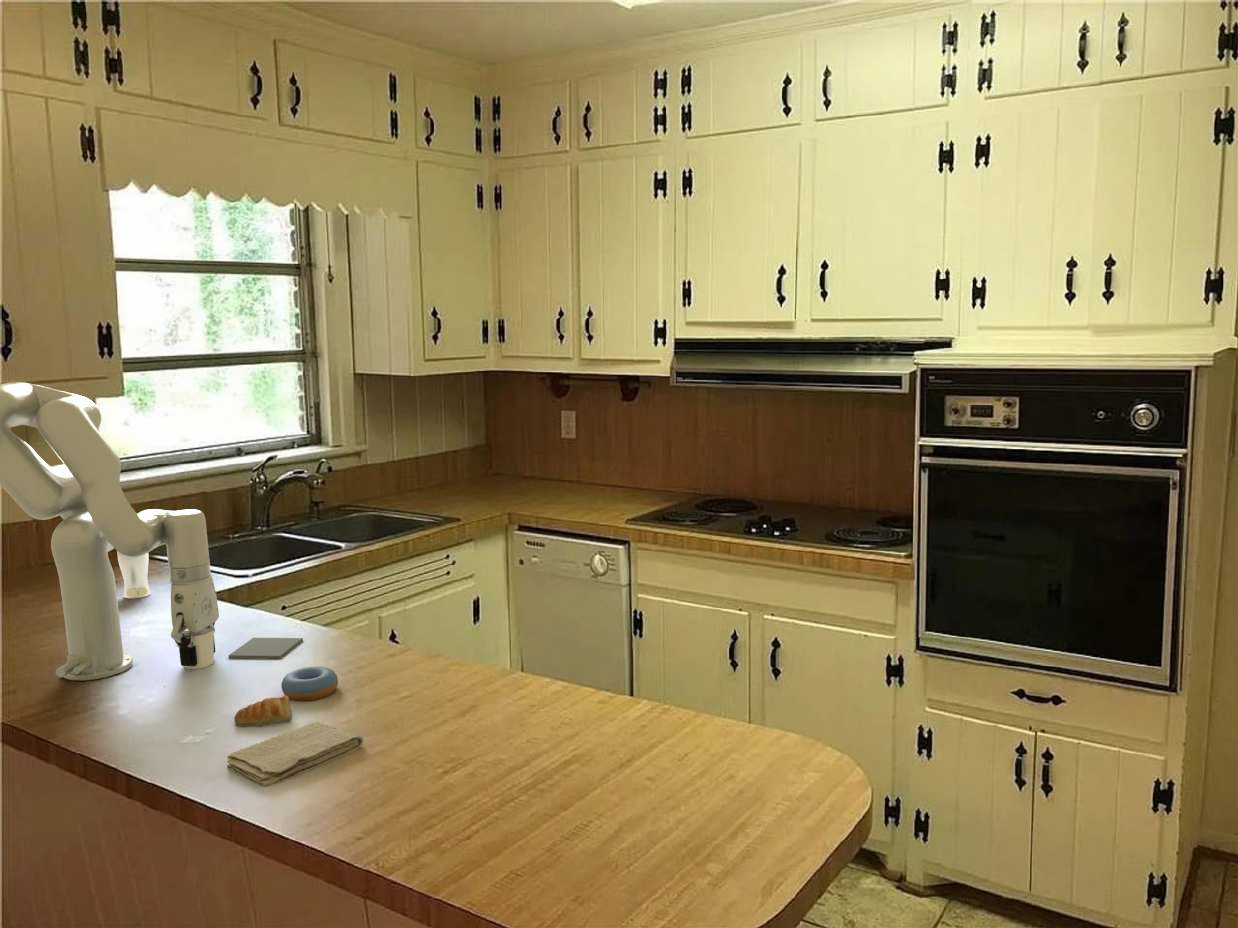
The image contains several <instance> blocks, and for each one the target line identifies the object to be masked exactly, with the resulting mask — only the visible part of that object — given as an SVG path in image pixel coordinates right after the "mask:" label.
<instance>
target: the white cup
mask: <svg viewBox="0 0 1238 928" xmlns="http://www.w3.org/2000/svg"><path fill="white" fill-rule="evenodd" d="M214 628H215V627H214ZM214 628H213V627H211V626H208V627H206V628H205V629H203V630H201V631H200V632H198V633H195V635H194V644H193V646H196V654H197V665H196V666H183V668H184V669H187V670H197V669H204V668H207V667H209V665H210V666H212V665H213V664H214V663H215V662H214V661H215V659H214V658H215V657H214V656H215V653H214V641H215V632H214ZM184 631H189V630H188V629H187V628H186V629H184ZM184 637H186V638H187V639H188V638H189V634H184ZM211 664H212V665H211ZM203 667H204V668H203Z"/></svg>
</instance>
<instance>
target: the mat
mask: <svg viewBox="0 0 1238 928" xmlns="http://www.w3.org/2000/svg"><path fill="white" fill-rule="evenodd" d="M303 641H304V638H303V637H252V638H251V639H249V640H248V641H247V642H245V643H244V644H242V645H241V646H240V647H238V648H236V649H235V650H234V651H232V652H231V653H230V654H228V659H255V658H273V659H274V658H276V659H274V660H279V659H282V658H283V657H284V656H286V655H287V654H289V652H290V650H291V651H292V650H293V649H294V648H296V647H297V646H299V645H300V644H301V643H302V642H303ZM285 654H286V655H285ZM273 659H272V660H273Z"/></svg>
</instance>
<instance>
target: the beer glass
mask: <svg viewBox="0 0 1238 928" xmlns="http://www.w3.org/2000/svg"><path fill="white" fill-rule="evenodd" d="M116 553H117V560H118V561H117V562H118V565H119V568H120V572H121V575H122V578H123V583H124V589H123V590H124V591H123V597H124V598H125V599H126V598H127V599H128V600H135V599H136V600H137V599H143V598H146V597H148V596H151V594H152V593H151V592H152V591H151V590H150V586H149V581H148V572H149V561H150V560H149V557H150V556H149V552H148V553H146V554H144V555H142V556H139V557H129V556H126V555H123V554H122V553H120V552H119V551H117V550H116Z"/></svg>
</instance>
